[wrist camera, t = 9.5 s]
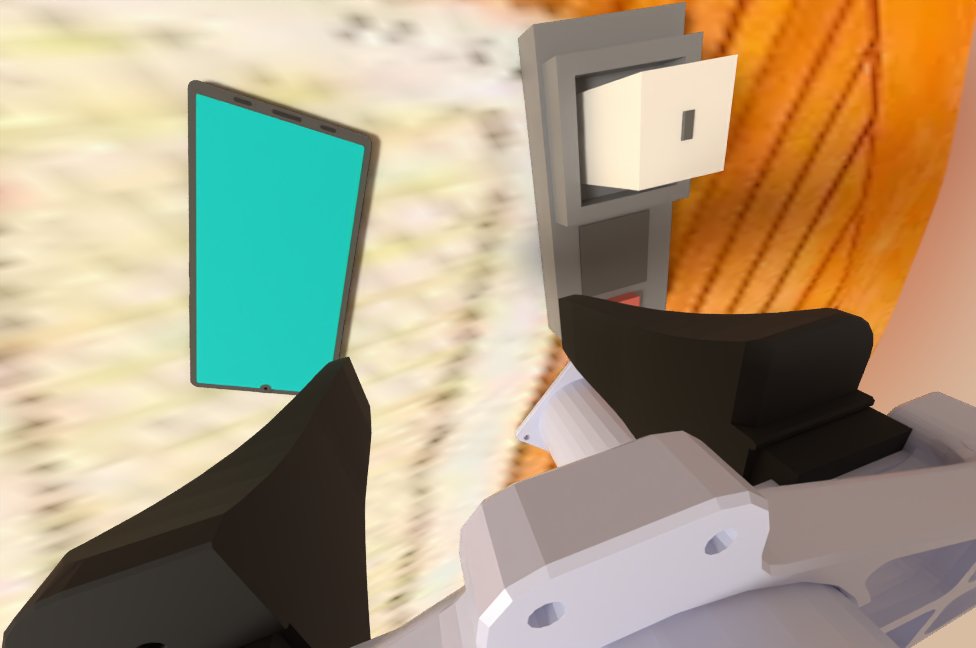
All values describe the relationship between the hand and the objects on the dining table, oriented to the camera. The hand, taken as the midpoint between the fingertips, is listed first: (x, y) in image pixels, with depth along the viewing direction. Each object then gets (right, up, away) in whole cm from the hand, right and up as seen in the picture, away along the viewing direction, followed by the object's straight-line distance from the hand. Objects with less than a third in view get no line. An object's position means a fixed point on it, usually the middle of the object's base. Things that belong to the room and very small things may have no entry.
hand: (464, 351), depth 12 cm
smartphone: (-10, +4, +7) cm, 13 cm away
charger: (+7, +11, +6) cm, 14 cm away
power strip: (+8, +7, +10) cm, 15 cm away
